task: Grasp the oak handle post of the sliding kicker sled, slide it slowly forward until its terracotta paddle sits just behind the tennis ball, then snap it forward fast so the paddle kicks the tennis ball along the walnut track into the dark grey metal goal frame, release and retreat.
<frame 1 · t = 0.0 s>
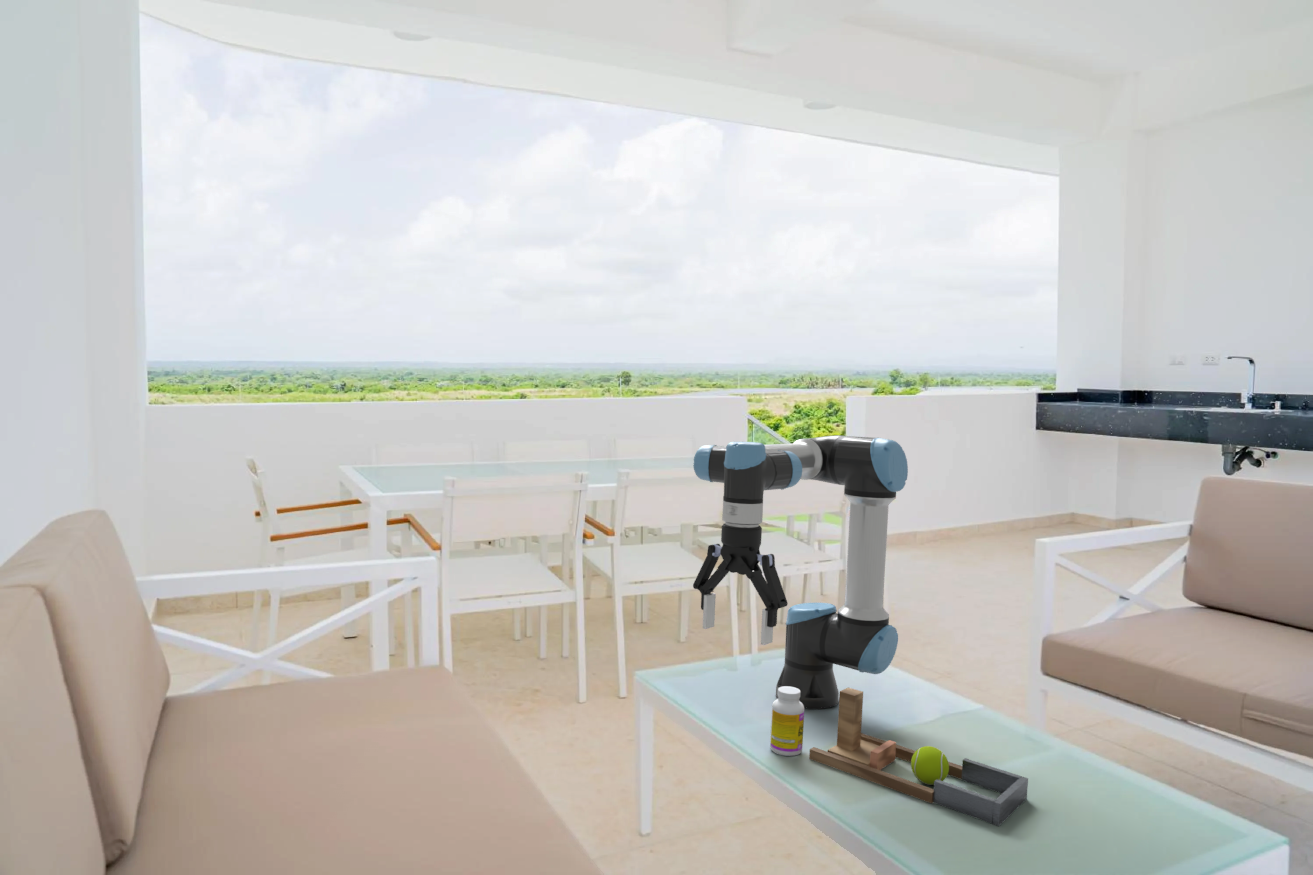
hand: (736, 635, 163), 28 cm above the table, fingers open, 13 cm apart
supplement bottle: (785, 751, 179), on the table
kicker: (864, 726, 176), point 7 cm above the table, slide at 0.0 cm
track rails: (885, 767, 173), on the table
goal: (977, 799, 160), on the table
tennis ball: (928, 783, 167), on the table
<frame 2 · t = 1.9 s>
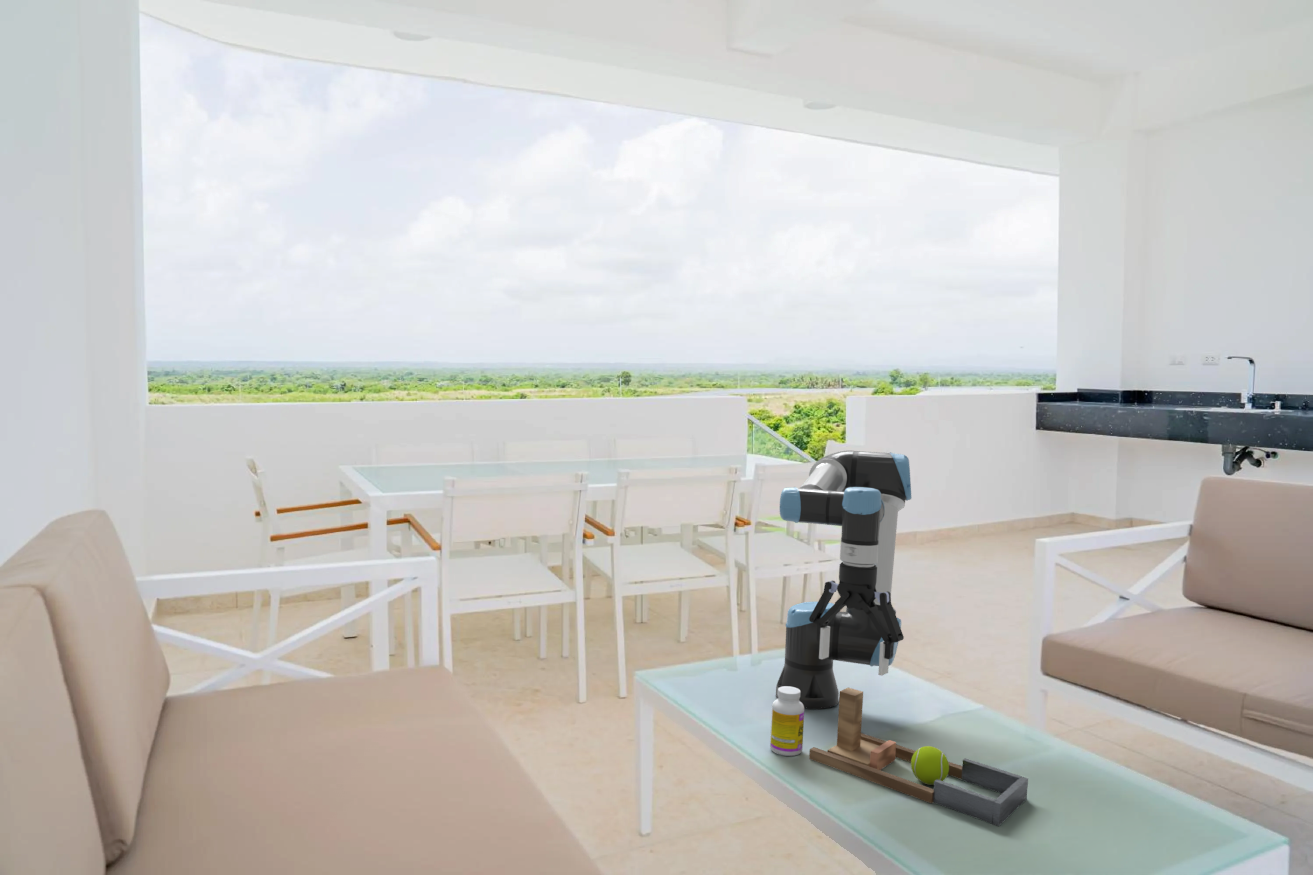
hand: (852, 665, 177), 19 cm above the table, fingers open, 13 cm apart
nothing on the table moved.
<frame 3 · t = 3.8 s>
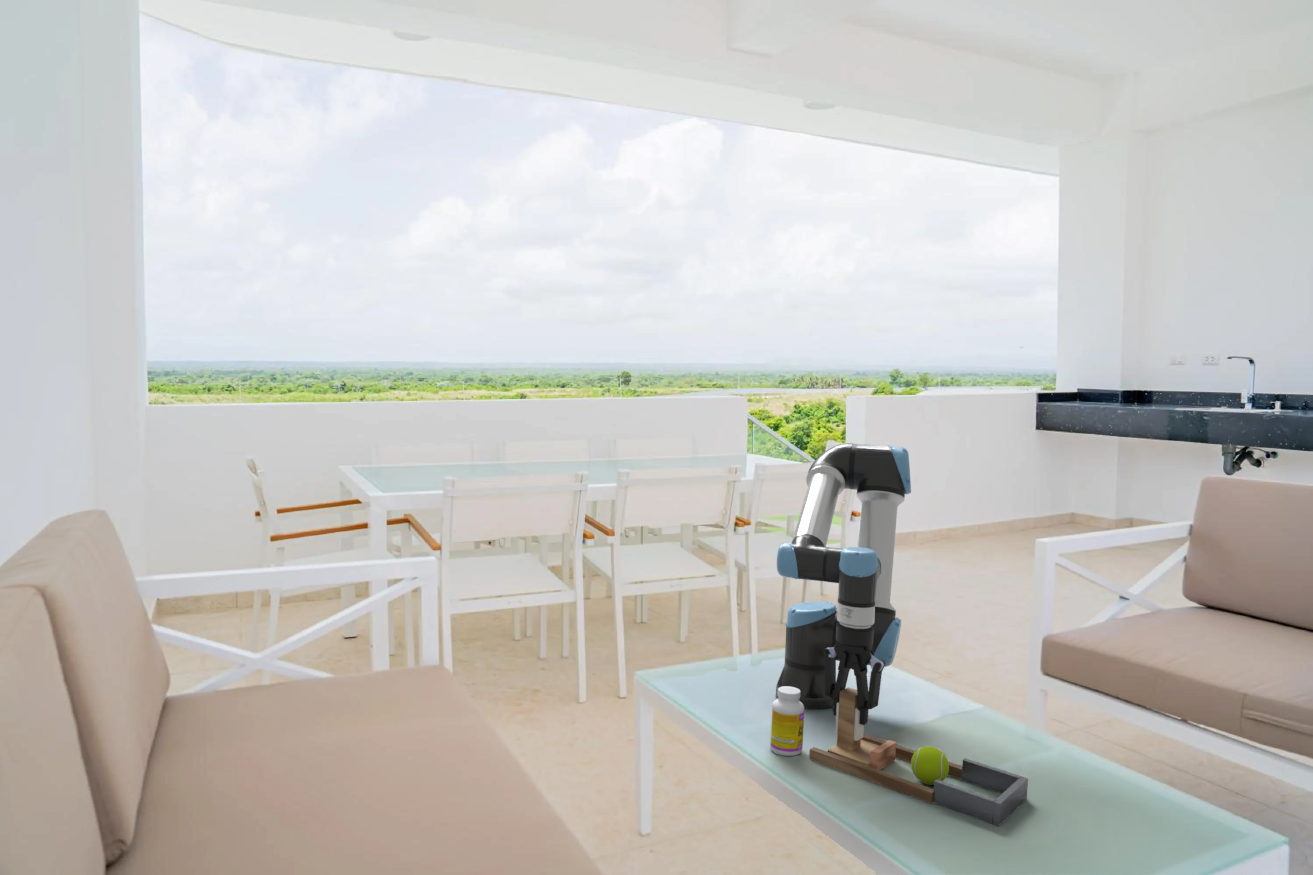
hand: (849, 735, 178), 4 cm above the table, fingers closed on kicker, 3 cm apart
kicker: (864, 726, 176), point 7 cm above the table, slide at 0.0 cm, touching gripper
everything else where it was.
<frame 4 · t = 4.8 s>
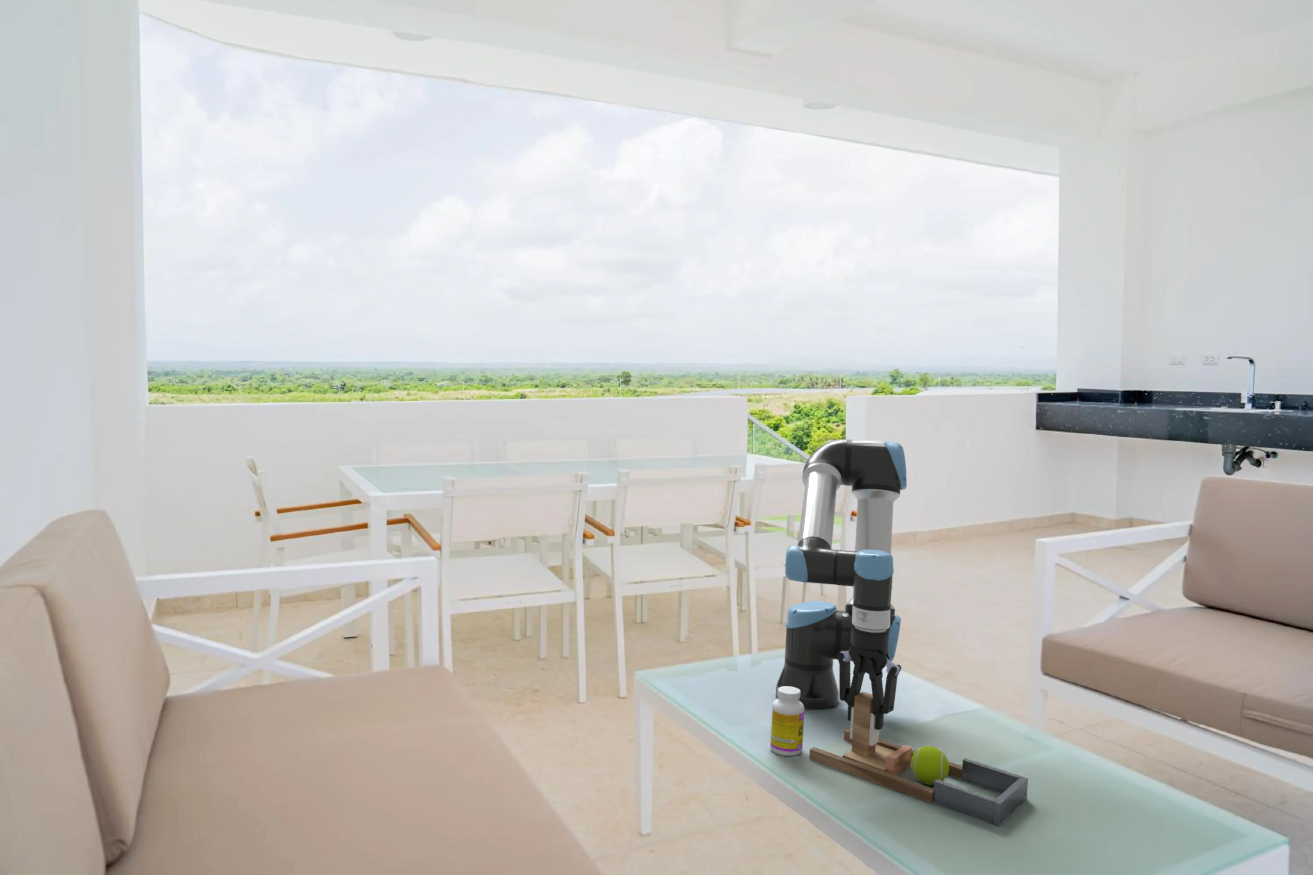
hand: (864, 740, 176), 4 cm above the table, fingers closed on kicker, 3 cm apart
kicker: (879, 731, 173), point 7 cm above the table, slide at 3.4 cm, touching gripper
everything else where it was.
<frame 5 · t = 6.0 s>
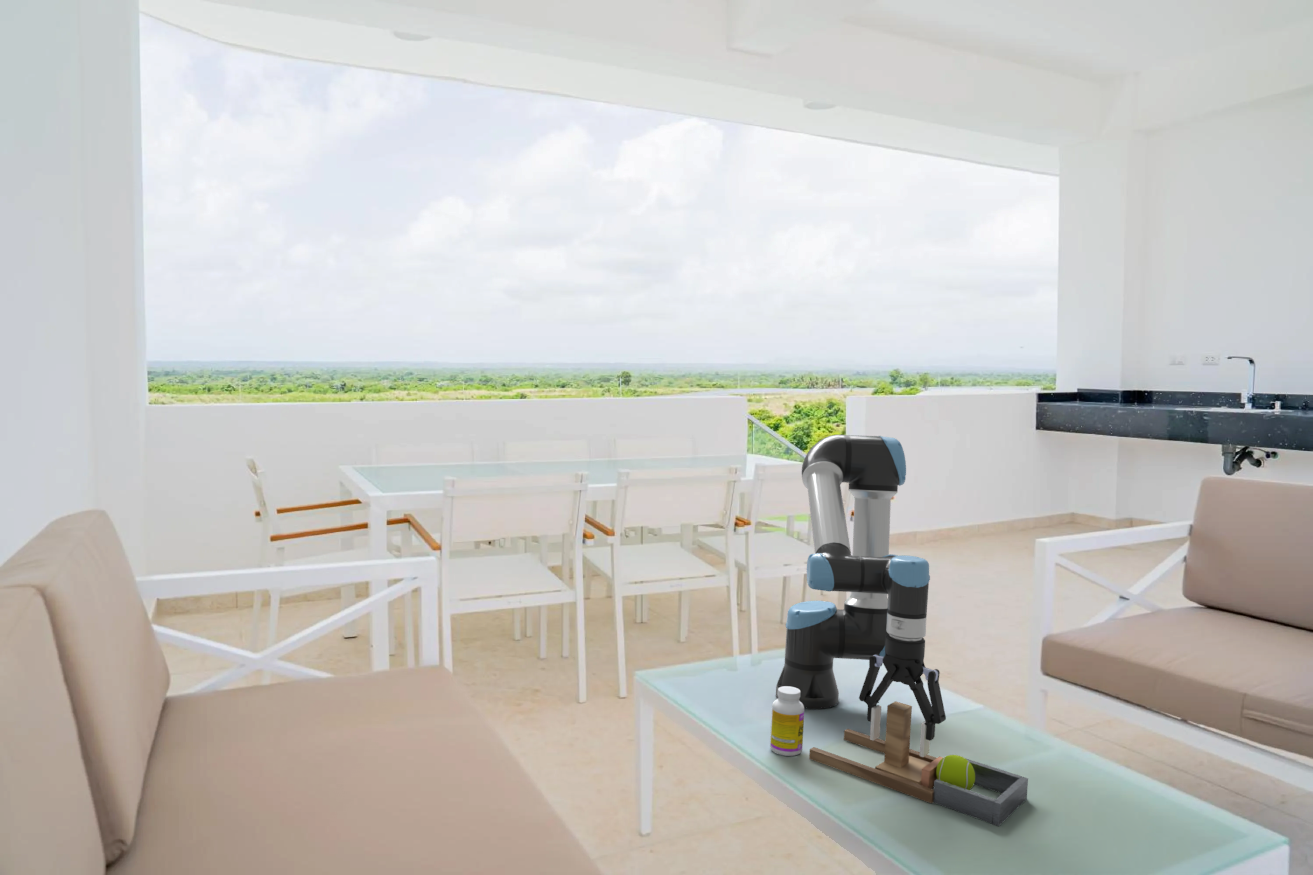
hand: (899, 746, 171), 5 cm above the table, fingers open, 10 cm apart
kicker: (913, 742, 169), point 7 cm above the table, slide at 10.7 cm
tennis ball: (954, 793, 163), on the table
everything else where it was.
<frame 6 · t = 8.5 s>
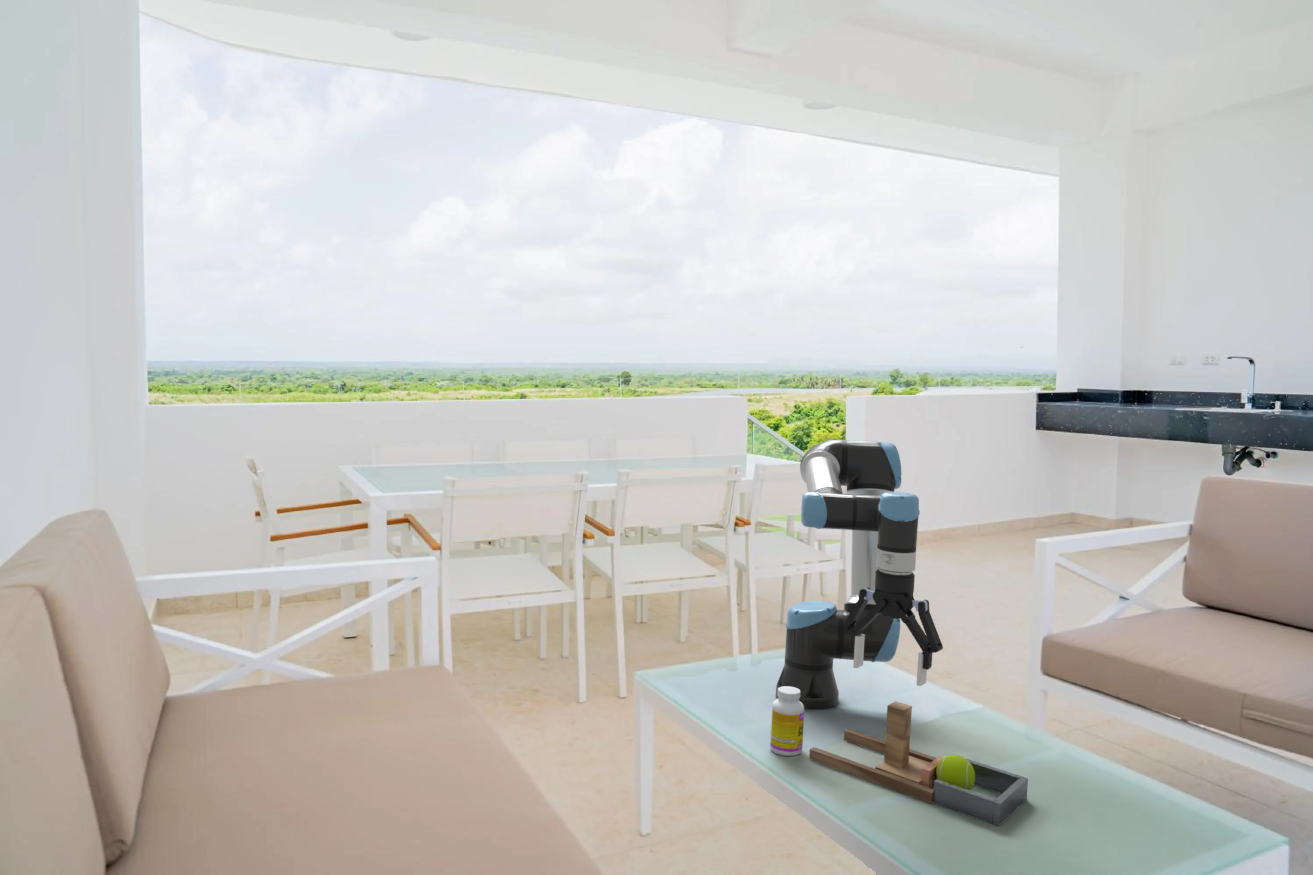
hand: (888, 675, 172), 19 cm above the table, fingers open, 13 cm apart
nothing on the table moved.
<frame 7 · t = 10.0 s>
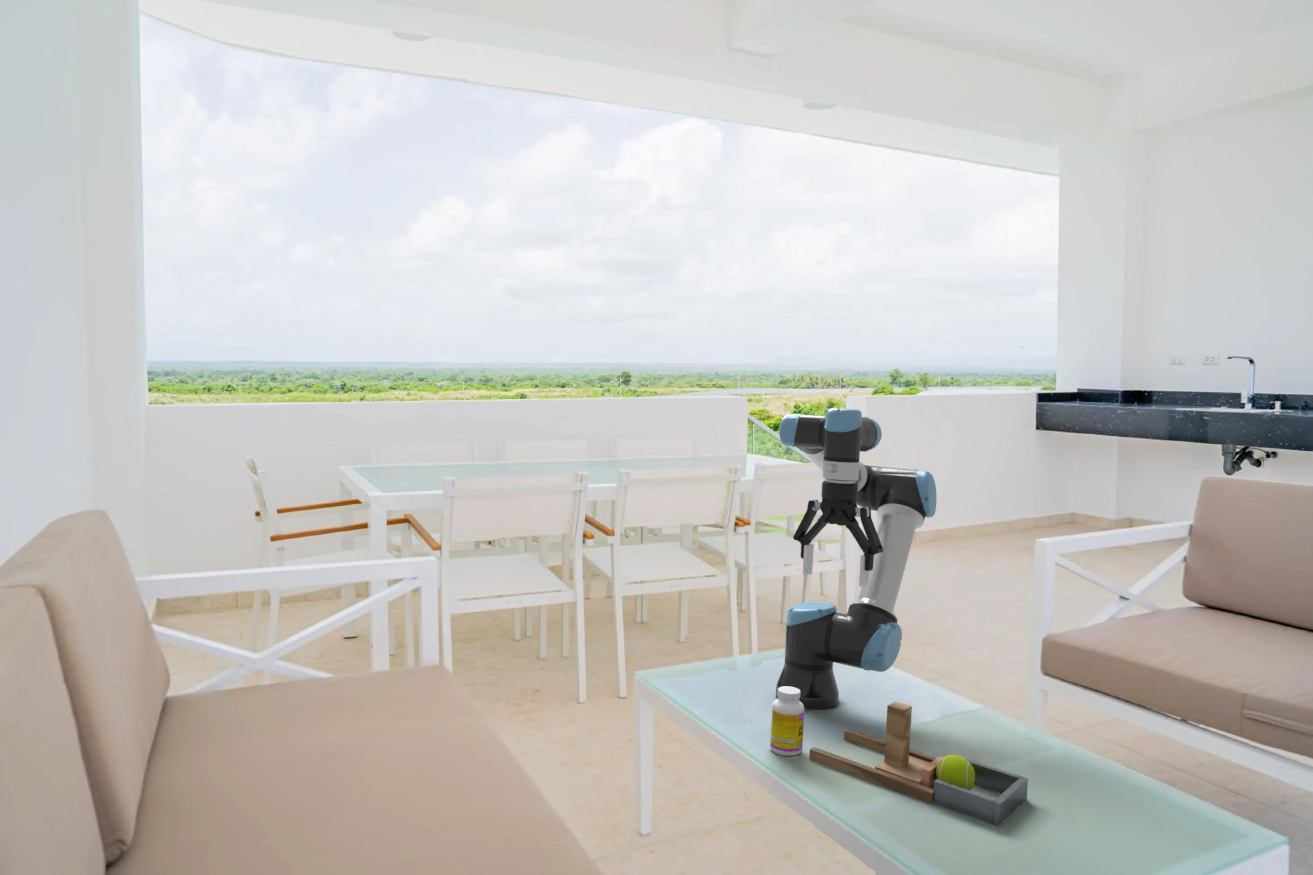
hand: (834, 579, 184), 35 cm above the table, fingers open, 13 cm apart
nothing on the table moved.
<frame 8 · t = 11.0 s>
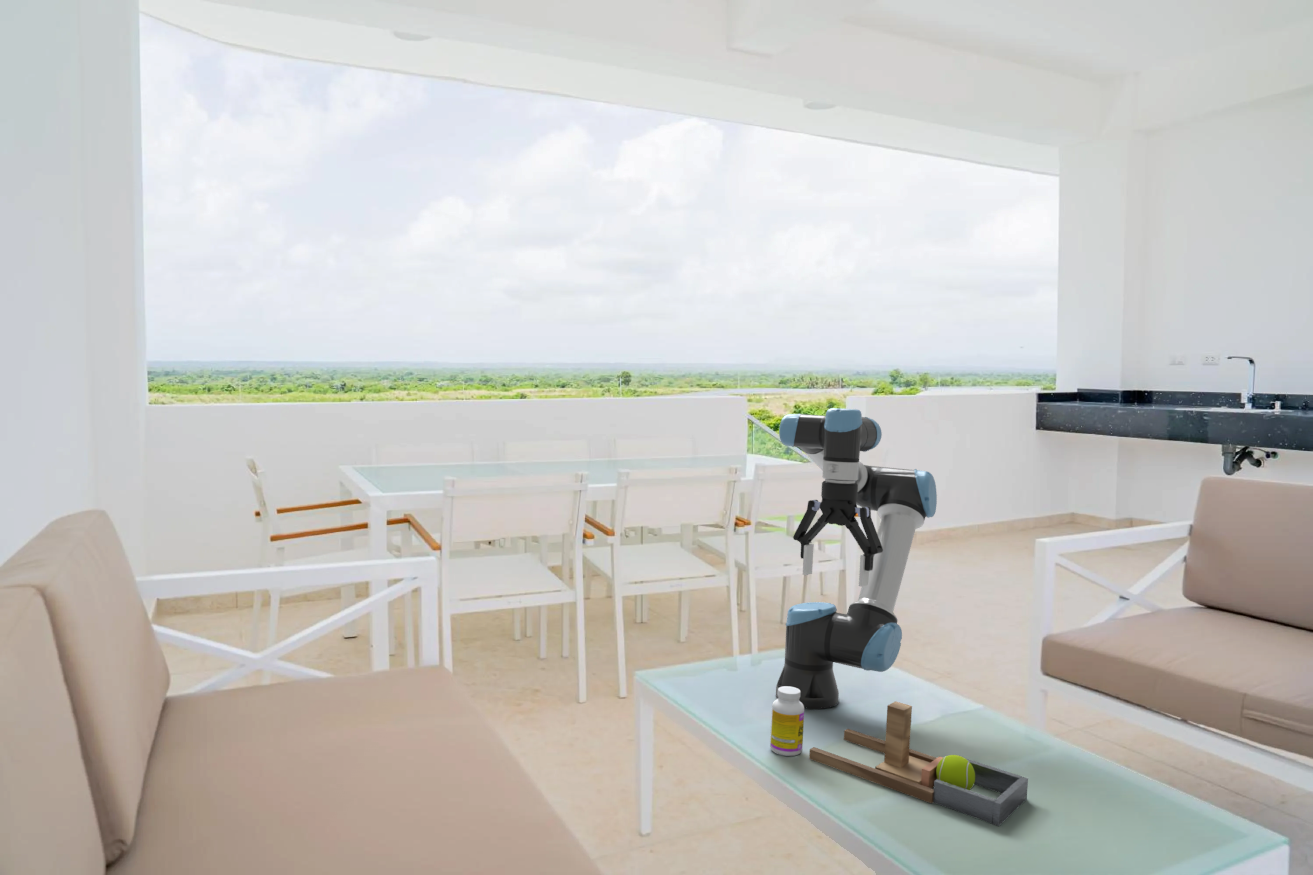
hand: (834, 579, 184), 35 cm above the table, fingers open, 13 cm apart
nothing on the table moved.
at the end: tennis ball inside the target area on the goal (3.8 cm from its centre), point 0.0 cm above the goal's base; the gripper is holding nothing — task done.
